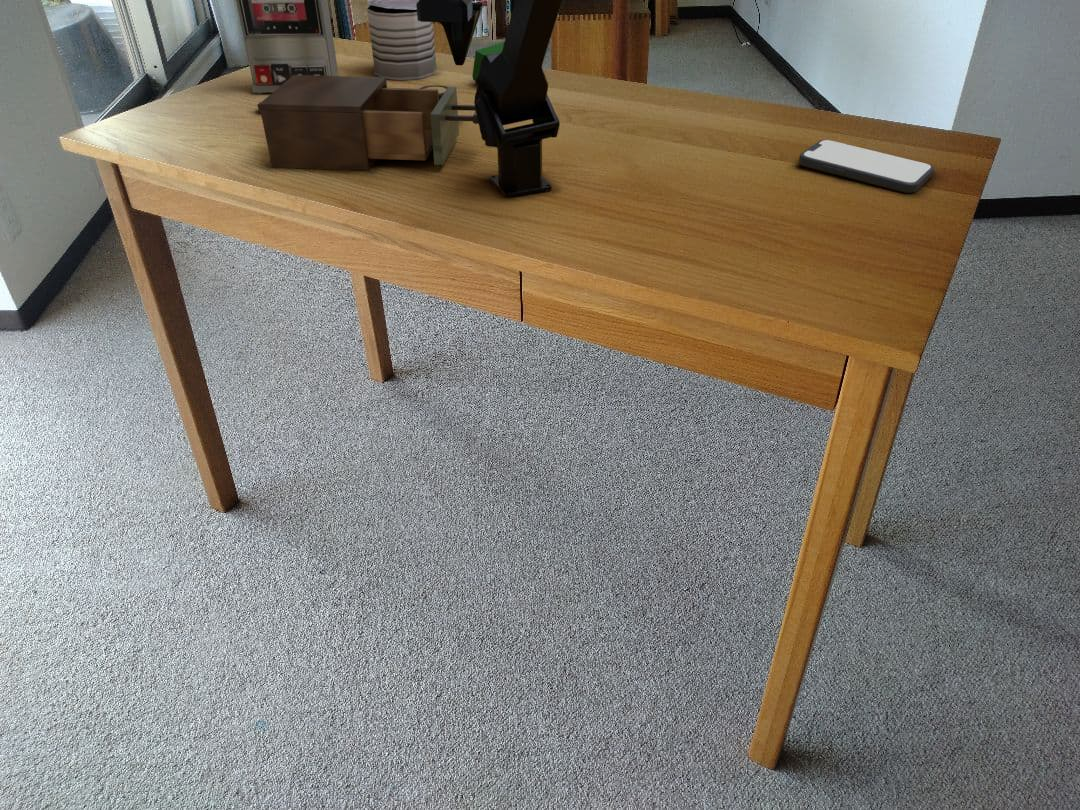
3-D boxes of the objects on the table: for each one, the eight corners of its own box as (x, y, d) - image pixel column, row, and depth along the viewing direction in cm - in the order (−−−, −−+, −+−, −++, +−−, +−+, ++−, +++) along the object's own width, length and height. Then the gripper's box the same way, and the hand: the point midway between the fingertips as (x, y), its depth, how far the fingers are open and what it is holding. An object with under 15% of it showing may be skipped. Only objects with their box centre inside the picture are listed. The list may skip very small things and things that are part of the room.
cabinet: (392, 136, 123) (386, 77, 118) (368, 170, 112) (360, 106, 107) (304, 134, 124) (293, 74, 119) (271, 167, 113) (258, 103, 108)
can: (371, 66, 154) (362, -5, 147) (431, 61, 156) (426, -9, 149) (378, 82, 145) (369, 8, 138) (442, 77, 148) (436, 4, 140)
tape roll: (459, 125, 127) (457, 93, 124) (424, 129, 125) (421, 97, 123) (448, 114, 131) (446, 83, 128) (414, 119, 130) (411, 87, 127)
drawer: (491, 135, 121) (489, 87, 117) (478, 166, 111) (475, 115, 107) (376, 131, 122) (370, 84, 118) (352, 162, 112) (345, 111, 108)
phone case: (934, 176, 110) (820, 148, 118) (937, 165, 109) (823, 137, 117) (911, 197, 105) (794, 166, 113) (915, 185, 104) (796, 155, 112)
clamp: (501, 112, 145) (495, 71, 137) (476, 98, 147) (468, 56, 139) (544, 72, 149) (541, 30, 141) (519, 59, 151) (514, 16, 143)
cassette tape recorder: (252, 94, 140) (217, -75, 125) (261, 84, 145) (228, -80, 130) (335, 93, 140) (309, -76, 125) (340, 83, 145) (317, -81, 130)
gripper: (406, -81, 109) (416, 44, 119) (367, -58, 95) (382, 83, 104) (489, -79, 108) (493, 47, 118) (463, -56, 94) (470, 86, 103)
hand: (459, 64), depth 111 cm, fingers closed
